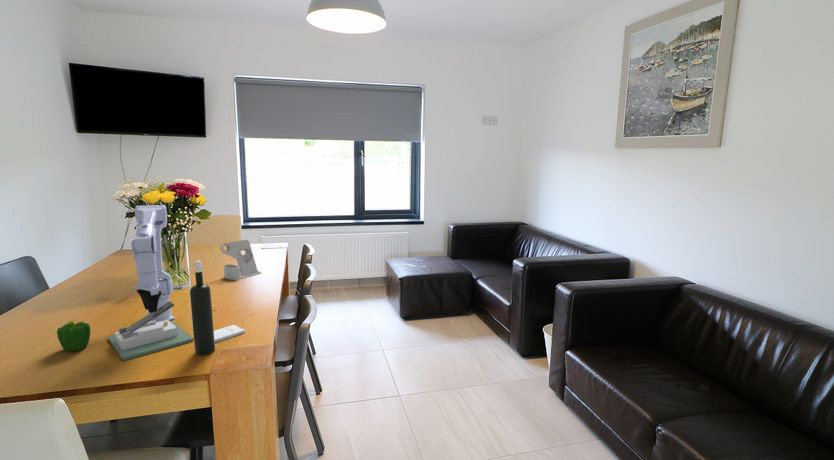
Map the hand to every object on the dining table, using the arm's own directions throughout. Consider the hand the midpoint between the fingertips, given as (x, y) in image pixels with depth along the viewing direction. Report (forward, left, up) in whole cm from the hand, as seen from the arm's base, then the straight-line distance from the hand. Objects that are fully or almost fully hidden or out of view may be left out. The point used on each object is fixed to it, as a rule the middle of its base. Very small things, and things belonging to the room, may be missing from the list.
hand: (151, 310), depth 144 cm
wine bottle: (+22, +9, -11) cm, 26 cm away
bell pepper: (-10, -20, -11) cm, 25 cm away
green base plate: (0, -1, -10) cm, 10 cm away
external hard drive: (+13, +18, -11) cm, 25 cm away
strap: (0, -1, -3) cm, 3 cm away
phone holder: (-58, +56, -11) cm, 81 cm away
